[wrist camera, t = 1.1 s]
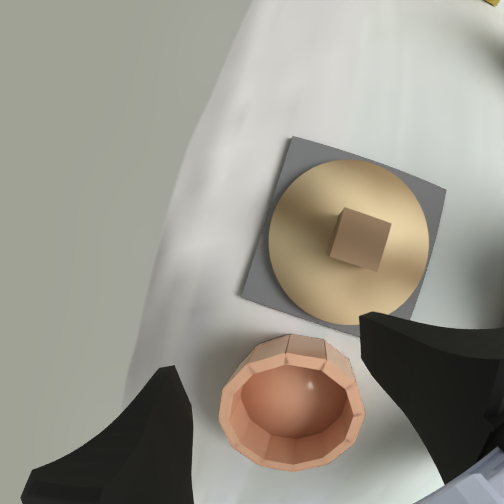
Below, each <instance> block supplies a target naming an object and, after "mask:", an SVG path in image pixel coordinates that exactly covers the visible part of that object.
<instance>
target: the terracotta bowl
mask: <svg viewBox="0 0 504 504" xmlns="http://www.w3.org/2000/svg"><path fill="white" fill-rule="evenodd" d="M364 417H365V410H364V407H363V403H362V400H361V396H360V393H359V390H358V386H357V383H356V380H355V377H354V374H353V370H352V367H351V364H350V361H349V359H348V358H346V357H345V356H344V355H343V354H342V353H340V352H339V351H338V350H337V349H335V348H334V347H333V346H332V345H330V344H329V343H328V342H327V341H325V340H324V339H318V338H312V337H306V336H300V335H294V334H291V335H290V334H288V335H285V336H282V337H279V338H276V339H273V340H270V341H267V342H264V343H260V344H258V345H257V346H256V347H255V348H254V349H253V351H252V352H251V353H250V354H249V355H248V356H247V357H246V358H245V359H244V360H243V361H242V362H241V364H240V365H239V366H238V367H237V368H236V370H235V372H234V373H233V375H232V376H231V378H230V379H229V380H228V382H227V383H226V385H225V386H224V388H223V390H222V396H221V403H220V410H219V417H218V419H219V422H220V424H221V426H222V429H223V431H224V433H225V434H226V436H227V438H228V440H229V442H230V444H231V446H232V447H233V448H234V449H235V450H237V451H238V452H240V453H241V454H242V455H244V456H245V457H247V458H248V459H250V460H251V461H253V462H254V463H256V464H257V465H260V466H263V467H268V468H273V469H279V470H284V471H291V472H293V471H294V472H296V471H301V470H306V469H310V468H314V467H318V466H323V465H326V464H327V463H328V464H329V463H330V462H331V461H333V460H334V459H335V458H337V457H338V456H339V455H341V454H342V453H343V452H344V451H346V450H347V449H348V448H349V447H351V446H352V445H353V444H354V443H355V440H356V438H357V435H358V433H359V430H360V428H361V425H362V422H363V420H364Z"/></svg>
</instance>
